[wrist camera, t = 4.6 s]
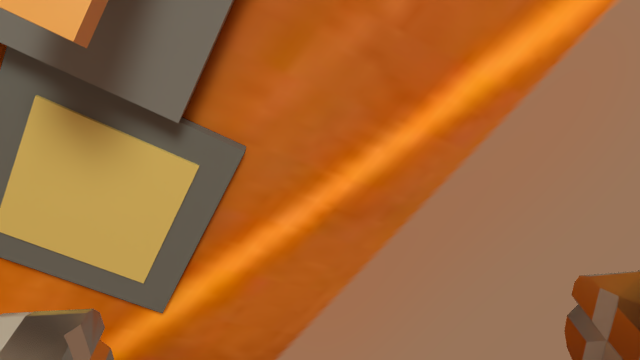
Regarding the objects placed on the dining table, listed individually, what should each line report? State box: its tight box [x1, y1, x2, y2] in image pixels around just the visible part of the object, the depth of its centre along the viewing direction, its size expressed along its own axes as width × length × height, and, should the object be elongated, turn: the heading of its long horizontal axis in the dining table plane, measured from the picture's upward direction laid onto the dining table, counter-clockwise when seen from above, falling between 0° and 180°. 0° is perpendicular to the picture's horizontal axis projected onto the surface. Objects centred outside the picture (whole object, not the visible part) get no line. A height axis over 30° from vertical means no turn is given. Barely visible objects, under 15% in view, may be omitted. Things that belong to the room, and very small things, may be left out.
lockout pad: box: [0, 46, 246, 313], centre depth 23 cm, size 10×10×1 cm
